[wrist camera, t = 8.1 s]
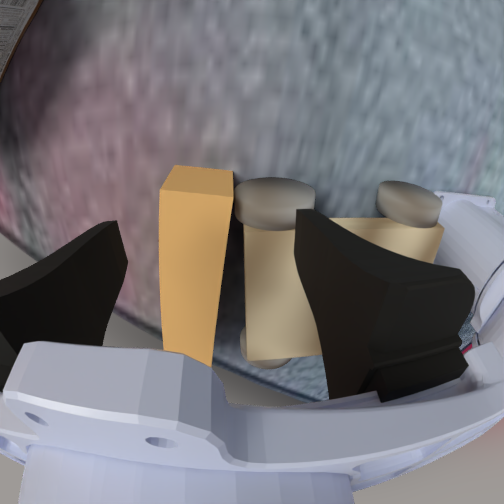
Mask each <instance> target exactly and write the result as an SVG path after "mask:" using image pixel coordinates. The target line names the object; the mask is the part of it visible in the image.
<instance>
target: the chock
mask: <svg viewBox="0 0 504 504" xmlns="http://www.w3.org/2000/svg"><path fill="white" fill-rule="evenodd" d="M232 204H233V171H228V170H219V169H210V168H200V167H190V166H179V165H175V166H174V167H173V169H172V171H171V172H170V174H169V176H168V177H167V179H166V181H165V182H164V184H163V186H162V187H161V189H160V203H159V275H160V301H161V319H162V333H163V346H164V350H166V351H172V352H178V353H183V354H185V355H187V356H189V357H191V358H193V359H195V360H197V361H199V362H201V363H204V364H206V365H207V366H209V367H211V363H212V354H213V346H214V337H215V329H216V321H217V313H218V305H219V297H220V289H221V282H222V274H223V267H224V259H225V252H226V245H227V238H228V231H229V224H230V217H231V211H232Z"/></svg>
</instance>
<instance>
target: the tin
mask: <svg viewBox="0 0 504 504" xmlns="http://www.w3.org/2000/svg"><path fill="white" fill-rule="evenodd" d="M42 1H43V0H0V83H1V81H2V78H3V76H4V73H5V71H6V69H7V67H8V64H9V62H10V60H11V58H12V56H13V54H14V52H15V50H16V48H17V46H18V44H19V42H20V40H21V38H22V36H23V35H24V33H25V31H26V29H27V27H28V26H29V24H30V22H31V21H32V19H33V17H34V16H35V14H36V12H37V10H38V9H39V7H40V5H41V3H42Z"/></svg>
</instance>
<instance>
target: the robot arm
mask: <svg viewBox="0 0 504 504" xmlns="http://www.w3.org/2000/svg"><path fill="white" fill-rule="evenodd" d="M433 193H434V194H435V195H437V196H438V197H439V198H440V197H441V198H440V199H441V200H442V208H441V212H440V215H439V219H438V223H439V224H441V225H442V226H443V227H444V228H445V229H444V233H443V236H442V239H441V242H440V245H439V248H438V251H437V254H436V256H435V259H434V262H433V264H432V263H428V262H424V261H420V260H416V259H413V258H410V257H407V256H404V255H401V254H398V253H395V252H392V251H390V250H387V249H385V248H382V247H380V246H378V245H376V244H373V243H371V242H369V241H367V240H365V239H363V238H361V237H359V236H358V235H356V234H354V233H352V232H350V231H349V230H347V229H345V228H344V227H342V226H340V225H339V224H337V223H335V222H334V221H332V220H331V219H329V218H327V217H326V216H324V215H323V214H321V213H319V212H318V211H316V210H314V209H296V223H295V240H294V258H295V263H296V267H297V272H298V275H299V278H300V281H301V283H302V286H303V289H304V292H305V294H306V297H307V300H308V302H309V305H310V308H311V311H312V313H313V316H314V320H315V323H316V327H317V331H318V336H319V341H320V345H321V350H322V356H323V361H324V366H325V373H326V379H327V386H328V393H329V400H326V401H320V402H313V403H306V404H299V405H290V406H281V407H269V406H256V405H244V404H234V403H228V402H227V400H226V396H225V390H224V385H223V383H222V382H221V381H220V379H219V378H218V376H217V375H216V374H215V372H214V371H213V369H212V368H211V367H209V366H207V365H206V364H204V363H201V362H199V361H197V360H195V359H193V358H191V357H189V356H187V355H185V354H183V353H178V352H172V351H166V350H160V349H154V348H128V347H107V346H102V345H103V340H104V335H105V331H106V328H107V324H108V321H109V319H110V316H111V313H112V311H113V308H114V305H115V303H116V300H117V298H118V295H119V292H120V290H121V287H122V284H123V282H124V278H125V274H126V269H127V265H128V260H127V257H126V253H125V249H124V246H123V242H122V239H121V235H120V231H119V227H118V223H117V220H116V221H106V222H102V223H100V224H98V225H96V226H94V227H92V228H91V229H89V230H87V231H86V232H84V233H83V234H81V235H80V236H78V237H77V238H75V239H74V240H72V241H71V242H69V243H68V244H66V245H64V246H63V247H61V248H60V249H58V250H57V251H55V252H54V253H52V254H51V255H49V256H47V257H46V258H44V259H42V260H40V261H39V262H37V263H35V264H33V265H31V266H30V267H28V268H26V269H23V270H21V271H19V272H17V273H15V274H13V275H11V276H9V277H6V278H4V279H1V280H0V453H1V454H3V455H4V456H6V457H8V458H10V459H12V460H14V461H16V462H18V463H20V464H22V465H24V466H25V468H24V473H23V478H22V484H21V489H20V495H19V502H18V504H355V503H354V499H353V494H352V492H355V491H358V490H362V489H365V488H368V487H371V486H374V485H377V484H379V483H382V482H385V481H388V480H391V479H393V478H396V477H399V476H401V475H404V474H406V473H408V472H411V471H413V470H415V469H418V468H420V467H422V466H424V465H426V464H429V463H431V462H433V461H435V460H437V459H439V458H441V457H443V456H445V455H447V454H449V453H451V452H452V451H455V450H456V449H458V448H460V447H462V446H464V445H466V444H467V443H469V442H471V441H473V440H474V439H476V438H478V437H480V436H481V435H482V434H484V433H485V432H486V431H488V430H489V429H490V428H491V427H492V426H494V425H495V424H496V423H497V422H498V421H500V419H502V418H503V417H504V216H503V215H502V214H501V213H499V212H498V211H497V210H495V209H494V206H495V203H496V200H495V198H493V197H488V196H480V195H471V194H462V193H453V192H443V191H435V192H433ZM470 311H471V312H472V313H473V315H474V316H473V318H472V320H471V321H470V323H471V325H472V326H473V328H474V329H475V331H476V332H475V333H474V335H473V337H472V346H473V348H472V349H470V350H468V351H467V352H466V353H464V354H462V353H461V351H460V349H459V347H460V346H461V344H462V340H461V338H460V337H459V335H458V332H459V331H460V329H461V327H462V325H463V324H464V322H465V320H466V318H467V317H468V315H469V313H470Z"/></svg>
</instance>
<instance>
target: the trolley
mask: <svg viewBox="0 0 504 504" xmlns="http://www.w3.org/2000/svg"><path fill="white" fill-rule="evenodd" d="M314 203H315V191H314V189H313V188H312V187H310V186H309V185H307V184H305V183H302V182H300V181H296V180H292V179H287V178H276V177H266V178H256V179H251V180H247V181H244V182H242V183H240V184H239V185H237V186H236V187H235V189H234V204H235V216H236V218H237V219H238V220H239V221H240V222H241V223H243V225H244V273H245V315H246V325H245V326H244V328H243V329H242V331H241V334H240V348H241V353H242V356H243V357H244V359H245V360H246V361H247V362H248V363H249V364H251V365H253V366H255V367H257V368H261V369H275V368H279V367H282V366H283V365H285V364H287V363H288V362H289V361H290V360H291V359H292V358H294V357H304V356H313V355H322V350H321V345H320V341H319V336H318V331H317V327H316V323H315V320H314V316H313V313H312V311H311V308H310V305H309V302H308V300H307V297H306V294H305V292H304V289H303V286H302V283H301V281H300V278H299V275H298V272H297V267H296V263H295V258H294V240H295V223H296V209H314ZM376 208H377V210H378V211H379V212H380V213H381V214H383V215H384V216H385V217H387V218H329V219H331V220H332V221H334V222H335V223H337V224H339V225H340V226H342V227H344V228H345V229H347V230H349V231H350V232H352V233H354V234H356V235H358V236H359V237H361V238H363V239H365V240H367V241H369V242H371V243H373V244H376V245H378V246H380V247H382V248H385V249H387V250H390V251H392V252H395V253H398V254H401V255H404V256H407V257H410V258H413V259H416V260H420V261H424V262H428V263H432V264H433V262H434V259H435V256H436V254H437V251H438V248H439V245H440V242H441V239H442V236H443V233H444V229H445V228H444V227H443V226H442V225H441V224H439V223H438V219H439V215H440V212H441V208H442V200H441V199H440V198H439V197H438V196H437V195H435V194H434V193H432V192H431V191H429V190H427V189H425V188H422V187H420V186H417V185H414V184H410V183H406V182H400V181H384V182H382V183H380V184H379V189H378V194H377V200H376Z"/></svg>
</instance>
